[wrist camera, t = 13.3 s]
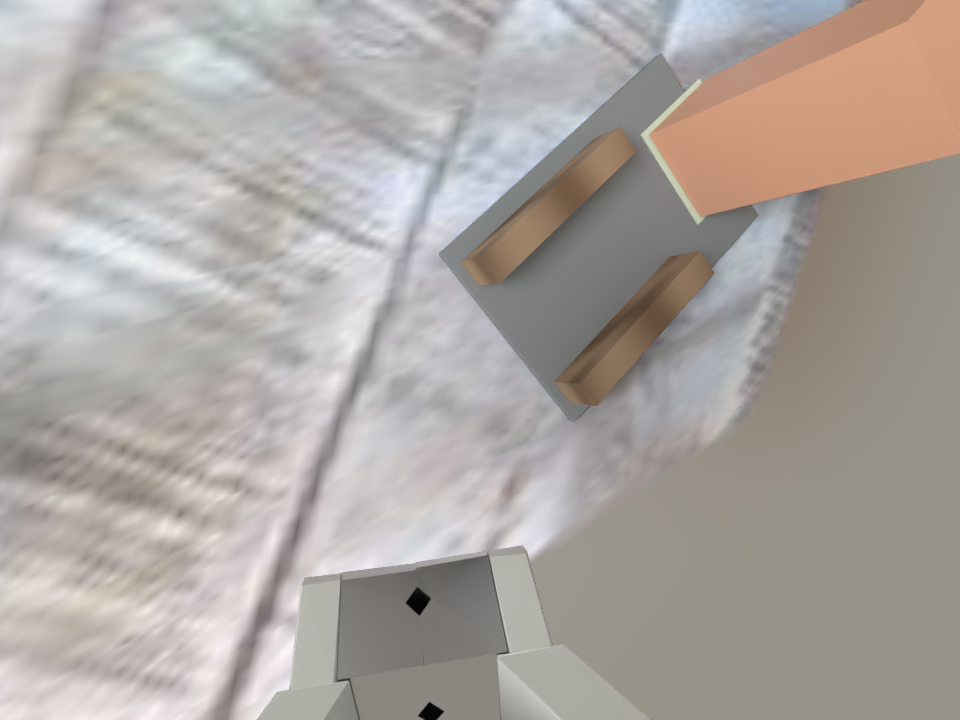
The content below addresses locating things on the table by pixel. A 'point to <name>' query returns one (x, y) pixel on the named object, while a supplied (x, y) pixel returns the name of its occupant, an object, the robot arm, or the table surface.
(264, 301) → the table surface
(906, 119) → the block
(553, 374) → the chute mat
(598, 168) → the chute rails
